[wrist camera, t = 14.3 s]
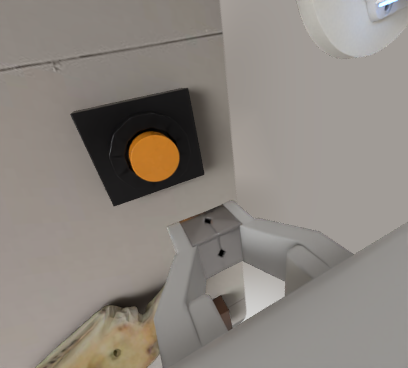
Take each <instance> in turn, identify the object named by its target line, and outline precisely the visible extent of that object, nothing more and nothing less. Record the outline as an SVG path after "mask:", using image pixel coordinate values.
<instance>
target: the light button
mask: <svg viewBox="0 0 408 368" xmlns="http://www.w3.org/2000/svg"><path fill="white" fill-rule="evenodd" d="M129 159H130V162H131V165H132V168H133V170H134V172H135V173H136V174H137V175H138V176H139V177H141V178H142V179H144V180H147V181H151V182H157V181H162V180H165V179H167V178H168V177H170V176H171V175H172V174H173V173H174V172H175V170H176V169H177V167H178V164H179V152H178V149H177V147H176V145H175V144H174V143H173V142H172V141H171V140H170V139H169V138H168V137H166V136H165V135H164V134H162V133H159V132H155V131H148V132H144V133H142V134H140V135H138V136H137V137H136V138H135V139H134V140H133V141H132V143H131V145H130V148H129Z"/></svg>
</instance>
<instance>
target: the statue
mask: <svg viewBox="0 0 408 368" xmlns="http://www.w3.org/2000/svg"><path fill="white" fill-rule="evenodd" d="M165 283H166V282H165ZM164 286H165V284H164ZM164 286H163V288H162V289H161V290H160V292H159V293H158V294H157V295H156V296H155V298H154V299H153V300H152V301H150V302H149V303H148V304H147V307H146V313H144V314H140V313H138V310H137V307H134V306H133V307H126V308H121V307H117V306H114V305H108V306H105V307H103V309H102V310H100V311H98V312H97V313H96V314H94V315H93V316H92V317H91V318H90V319H89V320H88V321H87V322H86V323H84V324H83V325H82V326H81V327H80V328H79V329H78V330H76V331H75V332H74V333H73V334H72V335H71V336H70V337H69V338H67V339H66V340H65V341H64V342H63V343H62V344H60V345H59V346H58V347H57V348H56V349H55V350H54V351H53V352H52V353H51V354H50V355H49V356H48V357H47V358H46V359H45V360H43V361H42V362H41V363H40V364H39V365H38V366H37V367H35V368H147V367H148V366H149V365H150V364H152V363H153V362H154V361H155V360H156V358H157V357H158V356H159V354H160V350H159V345H158V340H157V335H156V329H155V324H154V316H155V313H156V310H157V307H158V304H159V301H160V298H161V295H162V292H163V289H164Z"/></svg>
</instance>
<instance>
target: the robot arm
mask: <svg viewBox="0 0 408 368" xmlns="http://www.w3.org/2000/svg"><path fill="white" fill-rule="evenodd" d="M365 2H366V5H367V11H368V16H369V19H370V21H371V22H375V21H378V20H381V19H383V18H385V17H387V16H389V15H391V14H393V13H395V12H397V11H399V10H401V9H403V8H405V7H407V6H408V0H365ZM167 229H168V232H169V235H170V238H171V241H172V244H173V247H174V250H175V253H176V255H175V256H174V259H173V262H172V265H171V268H170V271H169V274H168V277H167V280H166V283H165V286H164V289H163V292H162V295H161V298H160V301H159V304H158V307H157V310H156V313H155V316H154V324H155V329H156V335H157V340H158V345H159V350H160V355H161V360H162V366H163V368H408V222H407V223H405V224H403V225H402V226H400V227H399V228H397V229H395V230H394V231H392V232H390V233H389V234H387V235H385V236H384V237H382V238H380V239H379V240H377V241H375V242H374V243H372V244H371V245H369V246H367V247H366V248H364V249H362V250H361V251H359V252H357V253H356V254H353V253H351V252H349V251H348V250H347V249H345V248H344V247H342V246H341V245H339V244H338V243H336V242H335V241H333V240H332V239H330V238H329V237H327V236H326V235H324V234H323V233H321V232H319V231H315V230H311V229H306V228H302V227H297V226H292V225H288V224H284V223H279V222H275V221H270V220H266V219H261V218H256V219H254V218H253V217H252V216H251V215H250V214H248V213H247V212H246V211H245V210H244V209H243V208H241V207H240V206H239V205H238V204H237V203H236V202H235V201H233V200H231V201H229V202H226V203H224V204H222V205H220V206H218V207H215V208H213V209H211V210H208V211H206V212H203V213H200V214H198V215H195V216H193V217H190V218H187V219H185V220H182V221H180V222H177V223H175V224H172V225H170V226H167ZM243 260H244V262H246V263H248V264H250V265H252V266H254V267H256V268H258V269H260V270H262V271H264V272H266V273H268V274H270V275H272V276H275V277H277V278H279V279H281V280H283V281H285V297H283V298H282V299H280V300H279V301H277V302H275V303H273V304H272V305H270V306H268V307H267V308H265V309H263V310H262V311H260V312H259V313H257V314H255V315H254V316H252V317H250V318H249V319H247V320H245V321H244V322H242V323H240V324H239V325H237V326H236V327H234V328H232V329H231V330H229V331H228V330H227V328H226V326H225V324H224V322H223V320H222V318H221V316H220V314H219V312H218V310H217V308H216V306H215V304H214V302H213V300H212V298H211V297H210V295H206V294H205V290H206V279H208V278H210V277H212V276H213V275H215V274H217V273H219V272H221V271H223V270H224V269H227V268H229V267H231V266H233V265H235V264H237V263H239V262H241V261H243Z"/></svg>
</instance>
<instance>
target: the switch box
mask: <svg viewBox="0 0 408 368" xmlns="http://www.w3.org/2000/svg"><path fill="white" fill-rule="evenodd" d="M71 117H72V119H73V121H74V123H75V125H76V128H77V130H78V132H79V134H80V136H81V138H82V140H83V142H84V144H85V147H86V149H87V151H88V153H89V155H90V157H91V159H92V161H93V163H94V166H95V168H96V170H97V172H98V174H99V176H100V178H101V180H102V182H103V185H104V187H105V189H106V191H107V193H108V195H109V197H110V199H111V201H112V204H113V206H117V205H120V204H123V203H125V202H128V201H131V200H134V199H137V198H140V197H142V196H145V195H148V194H151V193H154V192H157V191H159V190H162V189H165V188H168V187H171V186H174V185H176V184H179V183H182V182H185V181H188V180H191V179H193V178H196V177H199V176H202V175H204V170H203V164H202V159H201V154H200V149H199V143H198V138H197V133H196V128H195V122H194V117H193V112H192V107H191V101H190V96H189V91H188V88H180V89H175V90H170V91H166V92H161V93H157V94H152V95H147V96H143V97H138V98H133V99H129V100H124V101H120V102H115V103H110V104H106V105H101V106H96V107H92V108H87V109H82V110H78V111H74V112H73V113H71ZM148 131H155V132H159V133H162V134H164V135H165V136H166V137H168V138H169V139H170V140H171V141H172V142H173V143H174V144H175V145H176V147H177V149H178V152H179V164H178V167H177V169H176V170H175V172H174V173H173V174H172V175H171V176H170V177H168V178H167V179H165V180H162V181H157V182H151V181H147V180H144V179H142V178H141V177H139V176H138V175H137V174H136V173H135V172H134V170H133V168H132V165H131V162H130V159H129V148H130V145H131V143H132V141H133V140H134V139H135V138H136V137H137V136H138V135H140V134H142V133H144V132H148Z"/></svg>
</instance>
